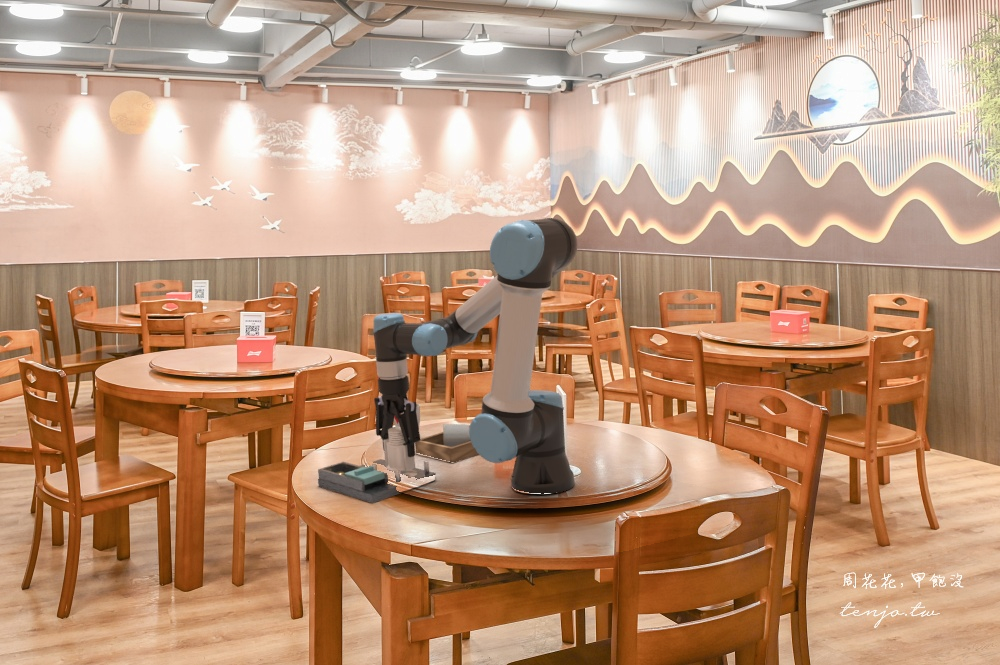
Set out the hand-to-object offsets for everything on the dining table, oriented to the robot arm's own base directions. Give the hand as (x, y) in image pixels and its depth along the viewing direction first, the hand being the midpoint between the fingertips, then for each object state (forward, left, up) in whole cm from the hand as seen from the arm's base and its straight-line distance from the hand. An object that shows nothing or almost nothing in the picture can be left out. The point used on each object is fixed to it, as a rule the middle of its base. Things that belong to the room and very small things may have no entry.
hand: (400, 466), depth 225 cm
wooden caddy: (+8, -27, -4) cm, 28 cm away
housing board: (+4, +4, -4) cm, 7 cm away
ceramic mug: (+10, -29, -4) cm, 31 cm away
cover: (+1, +10, -1) cm, 10 cm away
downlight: (0, 0, 0) cm, 0 cm away
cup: (+30, -28, -4) cm, 41 cm away
